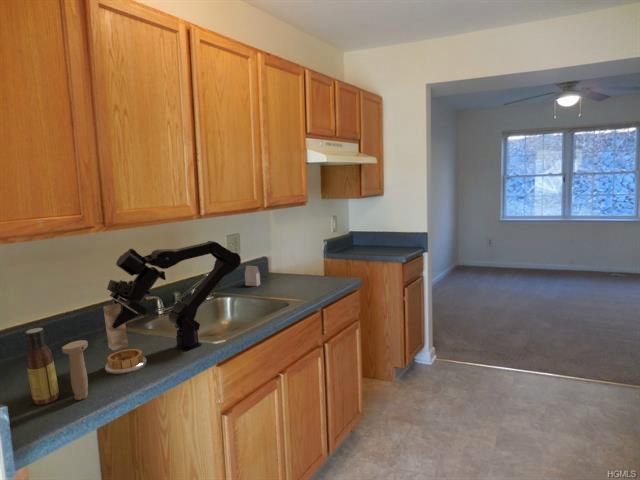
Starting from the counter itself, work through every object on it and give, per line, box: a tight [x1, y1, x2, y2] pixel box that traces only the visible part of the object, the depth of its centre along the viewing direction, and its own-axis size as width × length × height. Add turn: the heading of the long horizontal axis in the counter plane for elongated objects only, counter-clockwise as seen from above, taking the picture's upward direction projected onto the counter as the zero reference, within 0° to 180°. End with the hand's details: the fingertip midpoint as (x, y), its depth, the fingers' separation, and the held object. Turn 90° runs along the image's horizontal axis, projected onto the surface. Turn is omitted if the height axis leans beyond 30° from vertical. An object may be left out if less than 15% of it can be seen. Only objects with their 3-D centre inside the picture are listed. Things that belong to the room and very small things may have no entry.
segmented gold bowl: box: [104, 348, 148, 375], centre depth 148 cm, size 12×12×4 cm
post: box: [102, 303, 129, 351], centre depth 146 cm, size 4×4×13 cm
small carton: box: [244, 265, 261, 287], centre depth 247 cm, size 4×7×10 cm, turn 68°
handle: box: [61, 339, 89, 401], centre depth 127 cm, size 5×6×15 cm
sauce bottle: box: [25, 327, 60, 406], centre depth 126 cm, size 7×6×20 cm
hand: (111, 325), depth 145 cm, fingers closed on post, 4 cm apart
